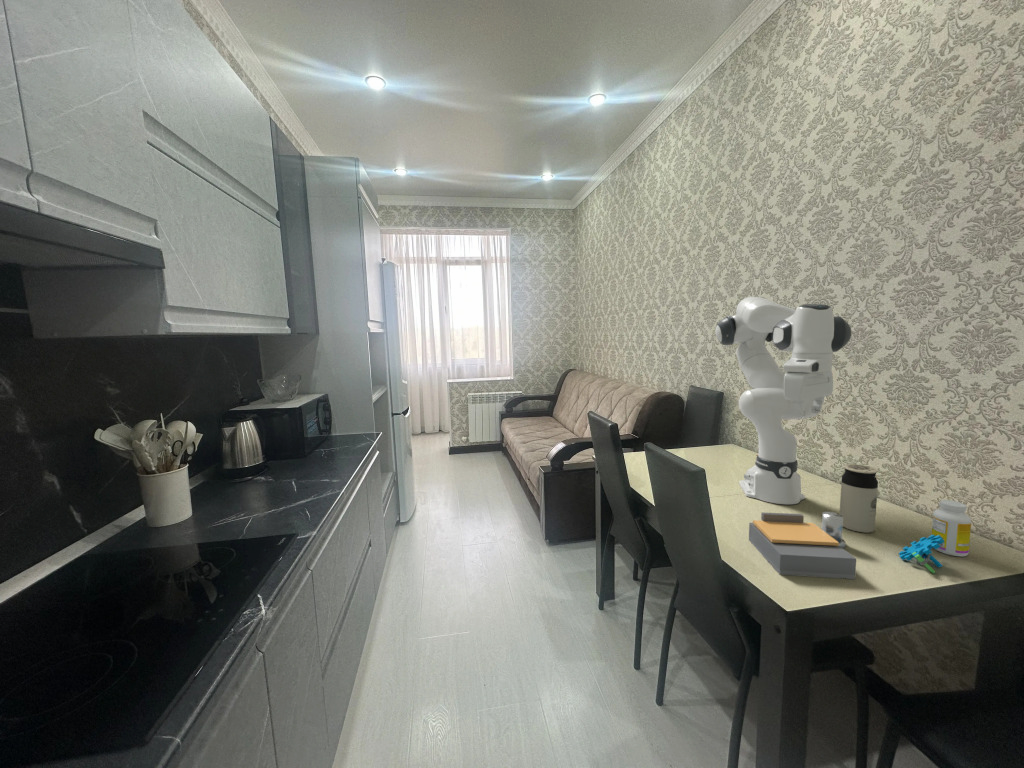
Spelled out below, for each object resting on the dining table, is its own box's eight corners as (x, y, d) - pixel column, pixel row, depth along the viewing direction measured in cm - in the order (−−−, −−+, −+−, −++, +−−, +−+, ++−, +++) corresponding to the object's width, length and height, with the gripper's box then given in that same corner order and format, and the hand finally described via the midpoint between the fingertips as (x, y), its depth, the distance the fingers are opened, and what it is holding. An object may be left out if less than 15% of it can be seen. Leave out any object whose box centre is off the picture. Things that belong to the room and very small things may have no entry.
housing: (748, 539, 111) (749, 522, 111) (811, 542, 109) (812, 525, 108) (779, 574, 95) (780, 554, 94) (854, 579, 92) (856, 558, 92)
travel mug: (832, 523, 120) (835, 465, 118) (850, 519, 122) (854, 462, 120) (862, 535, 112) (866, 473, 111) (881, 530, 115) (885, 470, 113)
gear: (901, 542, 105) (941, 527, 98) (922, 563, 102) (966, 549, 96) (890, 562, 99) (933, 547, 92) (913, 584, 96) (959, 571, 89)
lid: (751, 521, 111) (751, 512, 110) (810, 524, 108) (811, 514, 108) (771, 542, 99) (772, 531, 99) (838, 545, 97) (839, 534, 97)
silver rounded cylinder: (812, 537, 112) (813, 510, 111) (836, 538, 111) (837, 510, 110) (825, 548, 106) (827, 519, 105) (850, 549, 105) (852, 520, 104)
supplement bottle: (968, 551, 103) (972, 503, 102) (968, 560, 99) (973, 510, 97) (930, 542, 108) (934, 496, 107) (929, 550, 104) (933, 503, 102)
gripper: (815, 362, 116) (812, 409, 117) (779, 365, 105) (777, 416, 107) (841, 363, 110) (838, 412, 112) (807, 366, 100) (804, 420, 101)
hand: (808, 414), depth 109 cm, fingers open, 8 cm apart
